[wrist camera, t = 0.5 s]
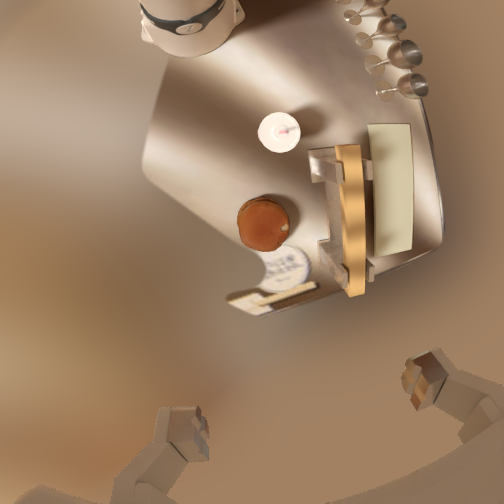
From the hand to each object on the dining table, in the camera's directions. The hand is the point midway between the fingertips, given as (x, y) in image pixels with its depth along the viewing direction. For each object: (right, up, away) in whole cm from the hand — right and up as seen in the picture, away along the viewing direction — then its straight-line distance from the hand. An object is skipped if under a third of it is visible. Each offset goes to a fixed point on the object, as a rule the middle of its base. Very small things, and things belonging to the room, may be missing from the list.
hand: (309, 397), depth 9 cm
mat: (+27, +18, +42) cm, 53 cm away
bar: (+14, +10, +36) cm, 40 cm away
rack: (+14, +14, +43) cm, 47 cm away
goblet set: (+20, +47, +30) cm, 59 cm away
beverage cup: (+1, +26, +37) cm, 45 cm away
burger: (0, +11, +43) cm, 45 cm away
